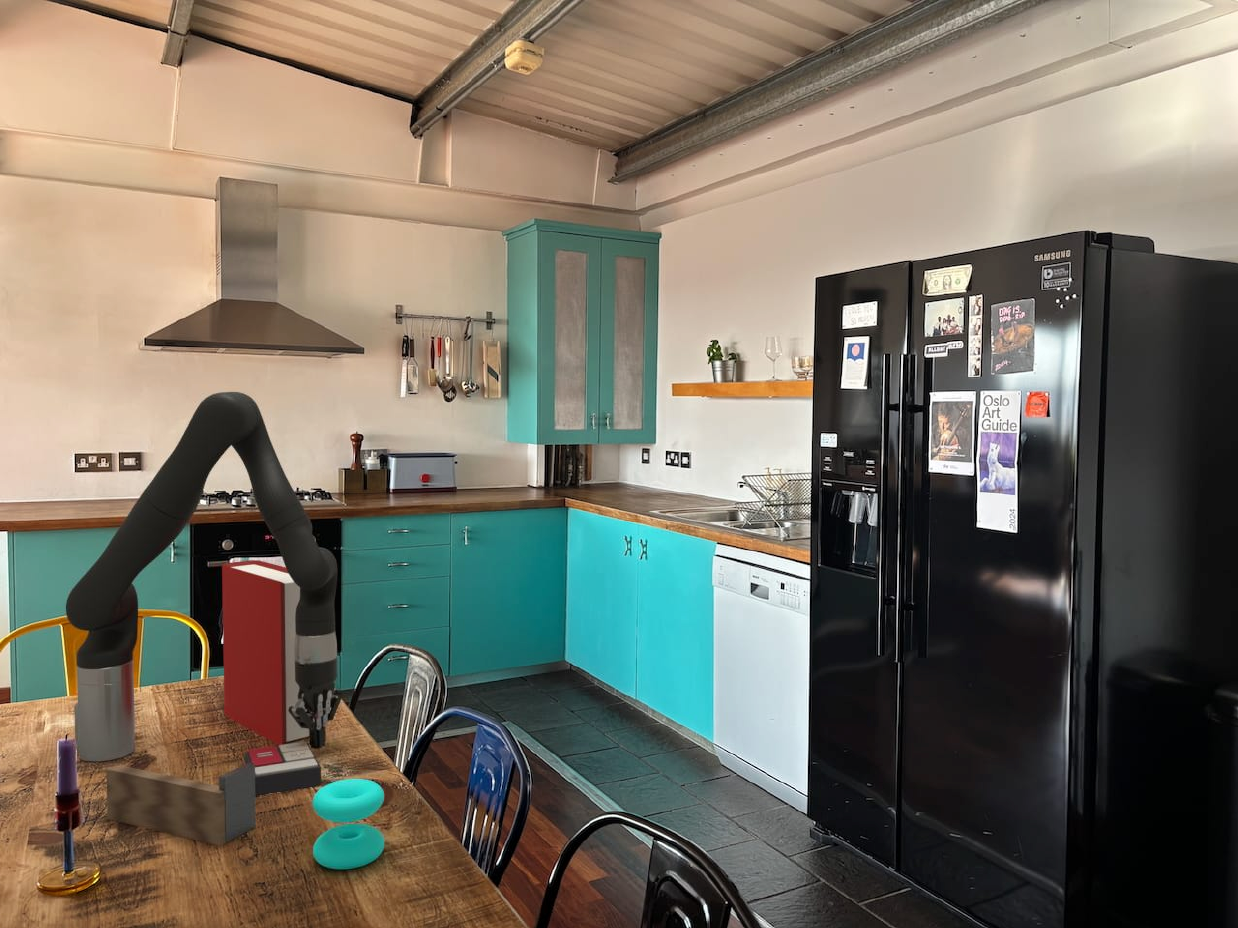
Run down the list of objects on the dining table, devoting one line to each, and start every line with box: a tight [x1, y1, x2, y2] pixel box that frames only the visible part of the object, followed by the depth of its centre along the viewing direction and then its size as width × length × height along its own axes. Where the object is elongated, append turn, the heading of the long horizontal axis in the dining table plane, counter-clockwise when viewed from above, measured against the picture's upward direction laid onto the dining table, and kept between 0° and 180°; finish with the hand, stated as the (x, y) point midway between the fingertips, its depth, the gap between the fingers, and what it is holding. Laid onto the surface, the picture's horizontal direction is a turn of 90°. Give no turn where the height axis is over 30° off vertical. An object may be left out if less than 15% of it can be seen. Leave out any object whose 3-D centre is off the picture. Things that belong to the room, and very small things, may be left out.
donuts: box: [312, 778, 385, 870], centre depth 136 cm, size 10×10×10 cm
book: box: [221, 559, 309, 746], centre depth 191 cm, size 27×8×32 cm, turn 46°
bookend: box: [218, 763, 257, 844], centre depth 143 cm, size 1×6×10 cm, turn 158°
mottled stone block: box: [105, 764, 227, 847], centre depth 147 cm, size 23×7×8 cm, turn 68°
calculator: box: [244, 741, 322, 797], centre depth 166 cm, size 11×4×15 cm
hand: (317, 747), depth 176 cm, fingers closed
